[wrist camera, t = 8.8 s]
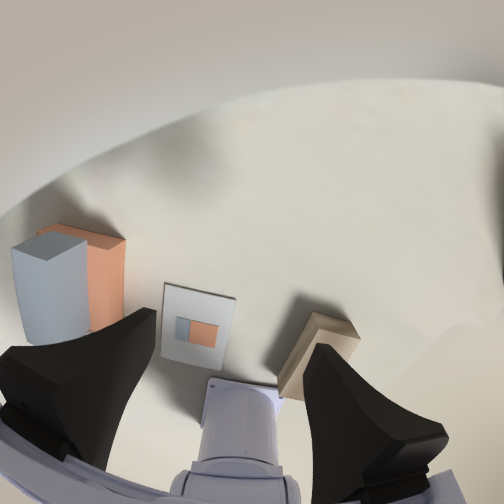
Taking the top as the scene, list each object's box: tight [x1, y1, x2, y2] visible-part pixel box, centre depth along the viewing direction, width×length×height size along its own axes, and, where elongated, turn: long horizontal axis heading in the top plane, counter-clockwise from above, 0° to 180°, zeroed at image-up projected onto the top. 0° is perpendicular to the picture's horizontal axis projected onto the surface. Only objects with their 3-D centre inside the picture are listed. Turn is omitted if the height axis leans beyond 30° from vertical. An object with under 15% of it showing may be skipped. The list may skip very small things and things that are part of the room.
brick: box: [277, 312, 361, 401], centre depth 23 cm, size 4×8×3 cm, turn 160°
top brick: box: [11, 231, 91, 346], centre depth 16 cm, size 8×4×5 cm, turn 168°
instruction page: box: [161, 284, 236, 371], centre depth 23 cm, size 8×6×1 cm
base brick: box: [37, 224, 126, 332], centre depth 20 cm, size 8×8×3 cm
